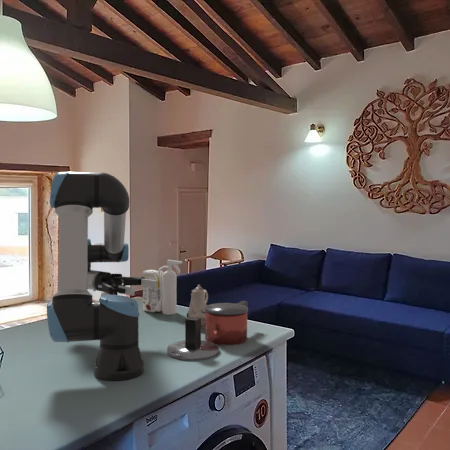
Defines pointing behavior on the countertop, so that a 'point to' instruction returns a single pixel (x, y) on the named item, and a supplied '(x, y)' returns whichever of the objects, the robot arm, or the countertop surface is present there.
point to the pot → (226, 323)
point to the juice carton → (151, 291)
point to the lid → (192, 343)
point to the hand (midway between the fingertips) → (145, 287)
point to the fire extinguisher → (168, 288)
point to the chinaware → (198, 304)
